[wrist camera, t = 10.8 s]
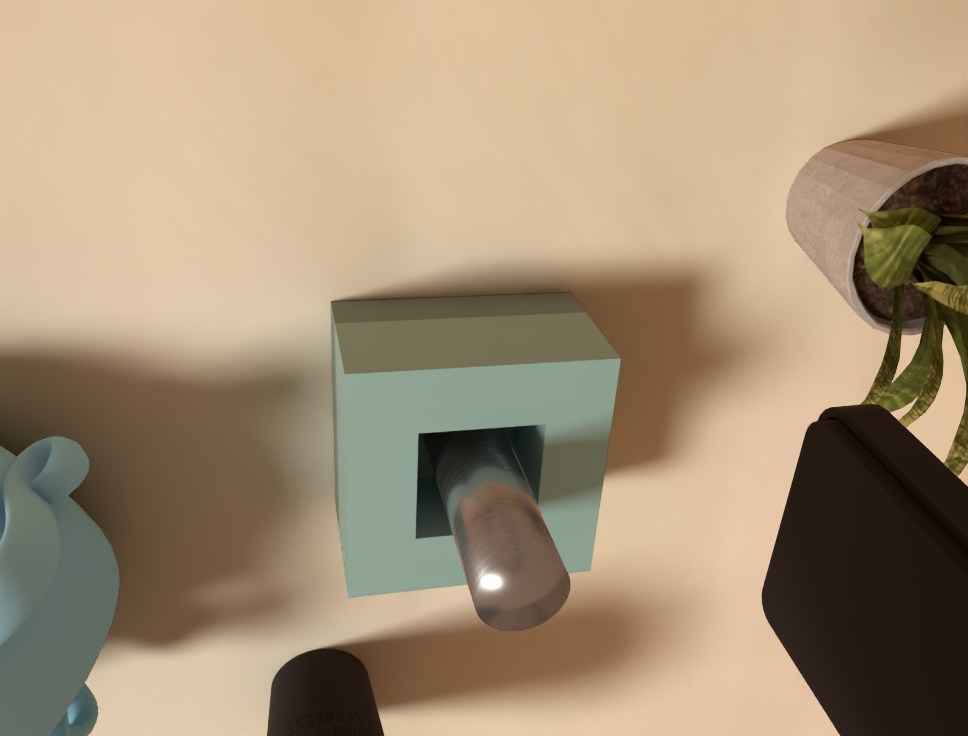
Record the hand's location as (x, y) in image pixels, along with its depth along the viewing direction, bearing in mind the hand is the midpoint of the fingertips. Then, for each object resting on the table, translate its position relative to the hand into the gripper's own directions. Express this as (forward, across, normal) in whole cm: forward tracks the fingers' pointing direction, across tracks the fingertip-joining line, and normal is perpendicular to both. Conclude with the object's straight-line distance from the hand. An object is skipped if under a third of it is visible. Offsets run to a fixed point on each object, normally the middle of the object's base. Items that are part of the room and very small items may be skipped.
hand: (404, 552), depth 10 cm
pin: (+23, -6, +15) cm, 28 cm away
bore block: (+25, -6, +15) cm, 30 cm away
